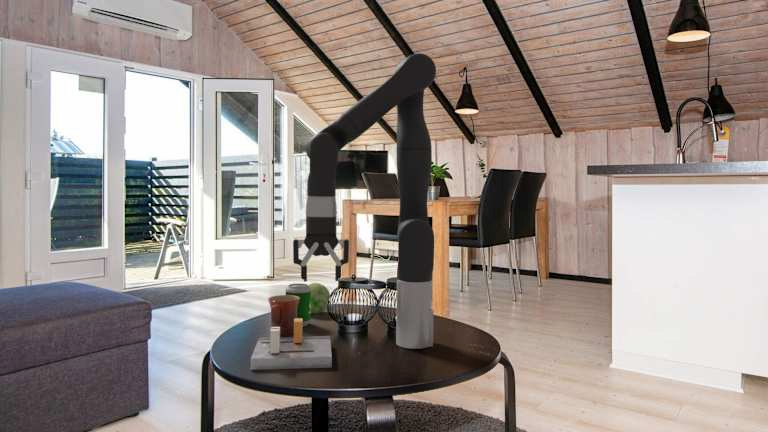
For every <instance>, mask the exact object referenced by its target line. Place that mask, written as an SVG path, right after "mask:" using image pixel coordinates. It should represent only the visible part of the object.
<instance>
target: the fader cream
mask: <svg viewBox="0 0 768 432" xmlns="http://www.w3.org/2000/svg"><path fill="white" fill-rule="evenodd" d="M269 331H270V332H269V333H270V334H269V337H270V353H279V351H280V327H270V330H269Z"/></svg>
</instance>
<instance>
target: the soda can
mask: <svg viewBox="0 0 768 432" xmlns="http://www.w3.org/2000/svg"><path fill="white" fill-rule="evenodd" d="M308 285H309V284H307V283H292V284H291V283H290V284H288V286H287V287H285V295H293V296H298V297H300V301H299V304H298V309H297V318H303V327H307V326H308V325H309V323H311V314H312V313H311V288H310V287H309V286H308Z"/></svg>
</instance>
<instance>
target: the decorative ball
mask: <svg viewBox="0 0 768 432" xmlns="http://www.w3.org/2000/svg"><path fill="white" fill-rule="evenodd" d="M307 285H308V286H309V287H310V288H311V314H320V313H322V312H323V311H325V310H326V305H327V302H328V299H329V296H330V297H331V295H330V291H329V289H328V288H327V287H326V286H325V285H324V284H321V283H320V282H319V283H318V282H313V283H309V284H307Z"/></svg>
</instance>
